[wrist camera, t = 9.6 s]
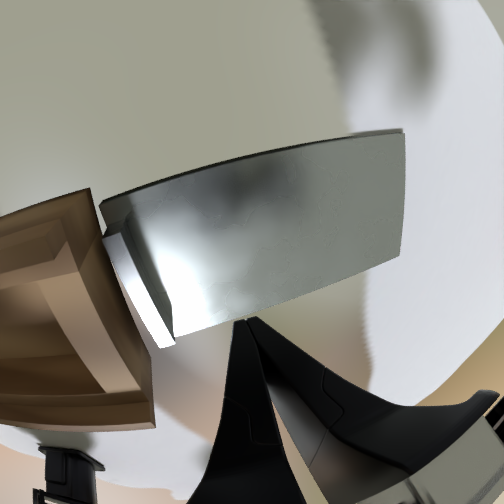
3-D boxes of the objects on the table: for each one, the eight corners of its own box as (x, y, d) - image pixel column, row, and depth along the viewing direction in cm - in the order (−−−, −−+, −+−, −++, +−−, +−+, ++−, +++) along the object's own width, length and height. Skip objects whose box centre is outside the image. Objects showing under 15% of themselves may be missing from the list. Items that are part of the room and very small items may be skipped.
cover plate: (391, 250, 17) (413, 266, 15) (163, 329, 14) (165, 359, 12) (394, 131, 12) (423, 137, 11) (102, 199, 10) (89, 218, 8)
